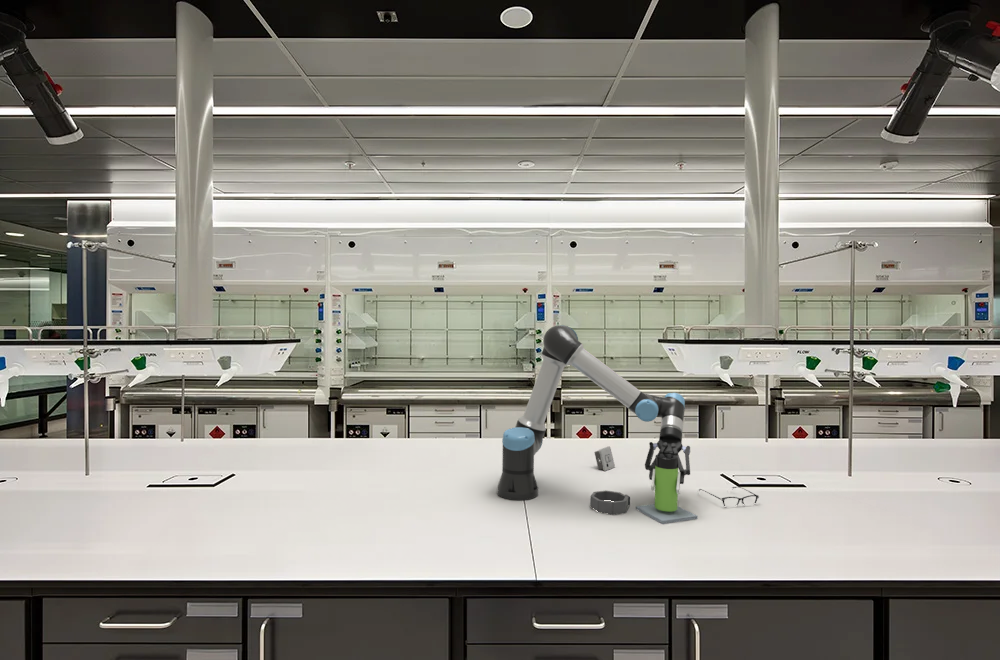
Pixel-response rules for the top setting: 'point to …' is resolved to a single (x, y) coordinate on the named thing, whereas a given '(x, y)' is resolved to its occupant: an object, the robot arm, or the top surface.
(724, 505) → the eyeglasses
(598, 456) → the electrical switch
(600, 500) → the strap ring
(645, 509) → the pad
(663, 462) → the green bottle
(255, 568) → the top surface
